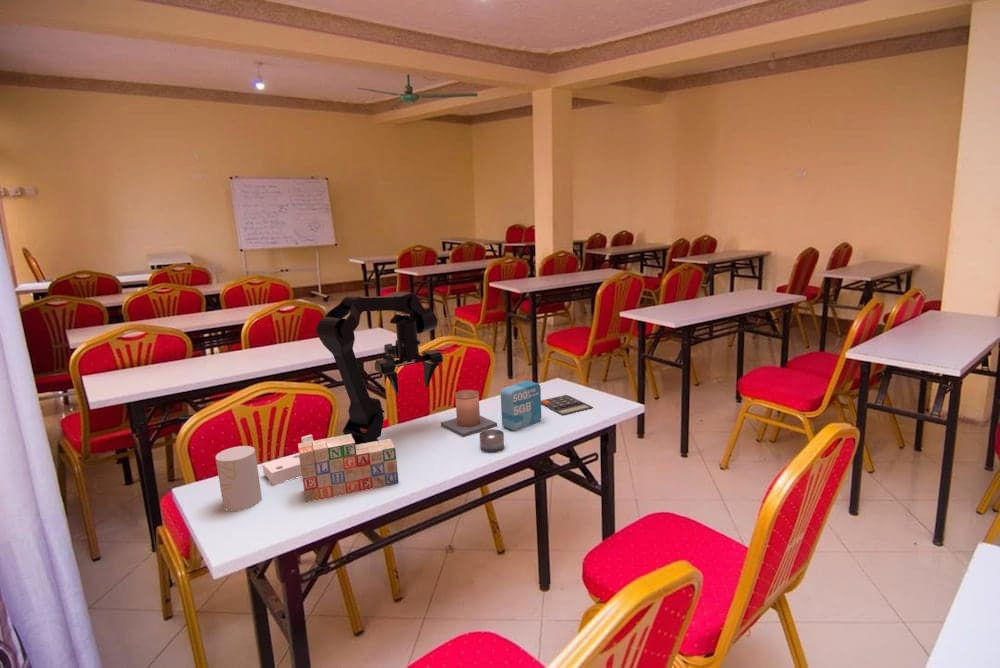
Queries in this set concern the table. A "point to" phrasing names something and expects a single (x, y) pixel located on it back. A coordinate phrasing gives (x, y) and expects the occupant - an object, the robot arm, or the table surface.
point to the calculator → (565, 405)
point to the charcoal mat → (467, 431)
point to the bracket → (285, 466)
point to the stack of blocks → (345, 466)
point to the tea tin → (491, 441)
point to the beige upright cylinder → (238, 478)
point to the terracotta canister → (467, 408)
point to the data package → (521, 405)
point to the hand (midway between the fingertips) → (411, 390)
